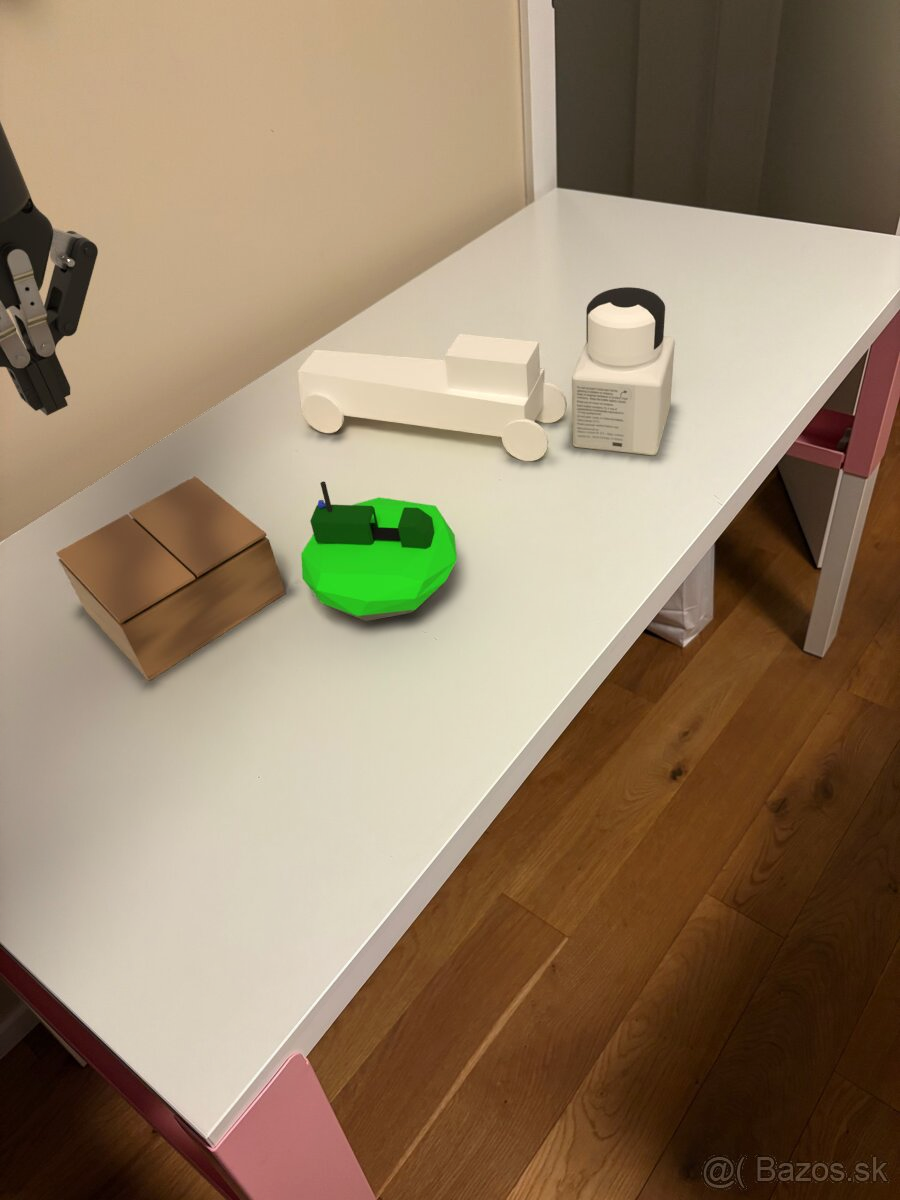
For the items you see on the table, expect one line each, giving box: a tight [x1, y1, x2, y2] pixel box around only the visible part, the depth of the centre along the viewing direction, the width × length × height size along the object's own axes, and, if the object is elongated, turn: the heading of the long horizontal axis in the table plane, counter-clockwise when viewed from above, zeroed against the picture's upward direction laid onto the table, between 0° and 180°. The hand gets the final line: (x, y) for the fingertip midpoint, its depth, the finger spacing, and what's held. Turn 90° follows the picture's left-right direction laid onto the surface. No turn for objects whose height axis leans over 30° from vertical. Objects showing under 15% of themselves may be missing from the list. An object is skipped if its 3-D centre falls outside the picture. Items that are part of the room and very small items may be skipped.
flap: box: [55, 513, 195, 623], centre depth 72 cm, size 6×11×1 cm, turn 42°
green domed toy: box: [300, 481, 458, 622], centre depth 72 cm, size 12×12×11 cm
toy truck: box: [297, 333, 568, 462], centre depth 88 cm, size 25×7×9 cm, turn 69°
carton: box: [58, 475, 287, 682], centre depth 75 cm, size 13×11×7 cm
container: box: [571, 286, 676, 456], centre depth 84 cm, size 8×8×13 cm
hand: (52, 406), depth 62 cm, fingers closed
